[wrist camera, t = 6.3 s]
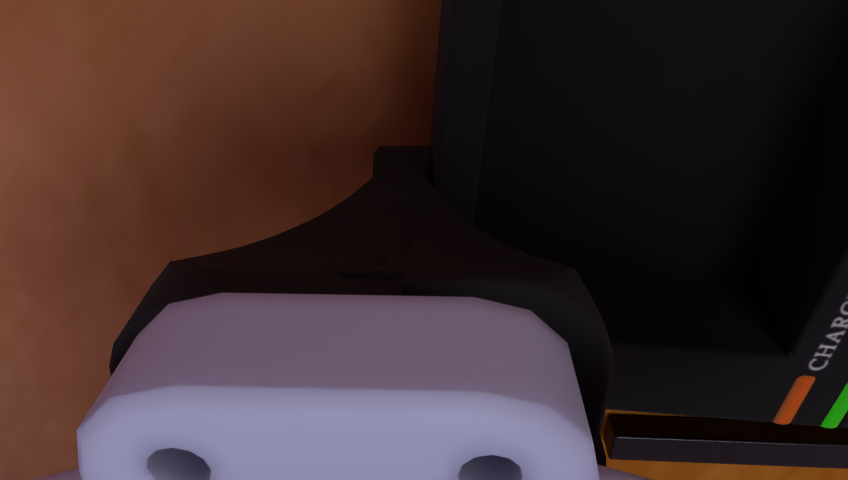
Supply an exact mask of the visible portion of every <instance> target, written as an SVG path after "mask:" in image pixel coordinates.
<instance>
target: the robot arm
mask: <svg viewBox="0 0 848 480" xmlns="http://www.w3.org/2000/svg"><path fill="white" fill-rule="evenodd" d="M432 163H433V157H432V151H431V148H430V147H421V146H379V147H378V148H377V149H376V151H375V153H374V159H373V177H372V178H371V179H370V180H369V181H368V182H367V183H366V184H364V185H363V186H362V187H361V188H359V189H358V190H357V191H356V192H355V193H353V194H352V195H351V196H350V197H348V198H347V199H345V200H344V201H343V202H341V203H340V204H338V205H337V206H335V207H333V208H332V209H330V210H328V211H327V212H325V213H323V214H321V215H320V216H318V217H316V218H314V219H312V220H310V221H308V222H305V223H303V224H301V225H299V226H297V227H294V228H292V229H290V230H288V231H285V232H283V233H281V234H278V235H276V236H273V237H270V238H267V239H264V240H261V241H258V242H255V243H252V244H248V245H245V246H241V247H238V248H234V249H230V250H226V251H222V252H217V253H212V254H207V255H202V256H197V257H192V258H187V259H182V260H176V261H170V262H169V264H168V265H167V266H166V267H165V269H164V270H163V271H162V273H161V274H160V275H159V277H158V278H157V279H156V280H155V282H154V283H153V284H152V286H151V287H150V289H149V290H148V292H147V293H146V295H145V296H144V298H143V300H142V301H141V303H140V304H139V306H138V307H137V309H136V310H135V312H134V313H133V315H132V316H131V318H130V320H129V321H128V323H127V324H126V326H125V327H124V329H123V330H122V332H121V333H120V335H119V336H118V338H117V339H116V341H115V342H114V344H113V348H112V354H111V359H110V364H109V368H110V373H111V377H110V379H109V381H108V382H107V384H106V385H105V387H104V388H103V390H102V391H101V393H100V395H99V396H98V398H97V399H96V401H95V402H94V404H93V406H92V407H91V409H90V410H89V412H88V413H87V415H86V417H85V418H84V420H83V421H82V423H81V424H80V426H79V427H78V429H77V446H78V465H79V468H75V469H71V470H67V471H63V472H59V473H55V474H51V475H47V476H43V477H38V478H34V479H30V480H653V479H649V478H645V477H642V476H638V475H634V474H631V473H627V472H623V471H620V470H616V469H612V468H609V467H606V455H605V452H604V448H603V444H602V441H601V437H600V432H601V427H602V423H603V419H604V414H605V410H606V406H607V401H608V397H609V392H610V388H611V384H612V379H613V367H614V353H613V350H612V347H611V343H610V339H609V336H608V333H607V329H606V327H605V324H604V322H603V319H602V317H601V315H600V313H599V310H598V309H597V307H596V305H595V303H594V301H593V299H592V297H591V296H590V294H589V292H588V290H587V289H586V287H585V285H584V283H583V282H582V280H581V278H580V276H579V275H578V273H577V271H576V270H575V269H574V268H573V267H570V266H566V265H563V264H560V263H556V262H553V261H549V260H546V259H542V258H539V257H536V256H532V255H530V254H527V253H525V252H522V251H520V250H518V249H515V248H513V247H511V246H508V245H506V244H504V243H502V242H500V241H498V240H496V239H494V238H493V237H491V236H489V235H488V234H486V233H484V232H483V231H481V230H480V229H478V228H476V227H475V226H473V225H472V224H471V223H469V222H468V221H466V220H465V219H464V218H463V217H462V216H460V215H459V214H458V213H457V212H456V211H454V210H453V209H452V208H451V207H450V205H449V204H448V203H447V202H446V201H445V200H444V199H443V197H442V196H441V195H440V194H439V193H438V191H437V190H436V189H435V187H434V186H433V184H432V183H431V181H432Z"/></svg>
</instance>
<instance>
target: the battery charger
mask: <svg viewBox="0 0 848 480" xmlns="http://www.w3.org/2000/svg"><path fill="white" fill-rule="evenodd" d="M430 148H431V151H432V157H433V163H432V181H431V183H432V184H433V186H434V187H435V189H436V190H437V191H438V193H439V194H440V195H441V196H442V197H443V199H444V200H445V201H446V202H447V203H448V204H449V205H450V207H451V208H452V209H453V210H454V211H456V212H457V213H458V214H459V215H460V216H462V217H463V218H464V219H465V220H466V221H468V222H469V223H471V224H472V225H473V226H475V227H476V228H478V229H480V230H481V231H483V232H484V233H486V234H488V235H489V236H491V237H493V238H494V239H496V240H498V241H500V242H502V243H504V244H506V245H508V246H511V247H513V248H515V249H518V250H520V251H522V252H525V253H527V254H530V255H532V256H536V257H539V258H542V259H546V260H549V261H553V262H556V263H560V264H563V265H566V266H570V267H573V268H574V269H575V270H576V271H577V273H578V275H579V276H580V278H581V280H582V282H583V283H584V285H585V287H586V289H587V290H588V292H589V294H590V296H591V297H592V299H593V301H594V303H595V305H596V307H597V309H598V310H599V313H600V315H601V317H602V319H603V322H604V324H605V327H606V329H607V333H608V336H609V339H610V343H611V347H612V350H613V353H614V367H613V379H612V384H611V388H610V392H609V397H608V401H607V406H606V409H613V410H625V411H638V412H650V413H662V414H675V415H687V416H699V417H712V418H724V419H737V420H749V421H761V422H774V423H776V424H781V425H784V424H789V423H792V424H799V425H811V426H821V427H824V428H836V427H837V426H838V427H840V428H848V0H442V5H441V18H440V30H439V43H438V56H437V68H436V81H435V93H434V106H433V119H432V131H431V144H430Z"/></svg>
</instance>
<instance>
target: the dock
mask: <svg viewBox="0 0 848 480" xmlns="http://www.w3.org/2000/svg"><path fill="white" fill-rule="evenodd" d="M604 441H605V445H606V449H607V453H608V456H609V458H610V459H617V460H643V461H668V462H693V463H718V464H743V465H768V466H793V467H818V468H844V469H848V428H840V427H838V426H837V427H836V428H824V427H821V426H811V425H799V424H792V423H789V424H784V425H781V424H776V423H774V422H761V421H747V420H721V419H694V418H668V417H641V416H615V415H611V416H609V419H608V423H607V427H606V431H605V434H604Z"/></svg>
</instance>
